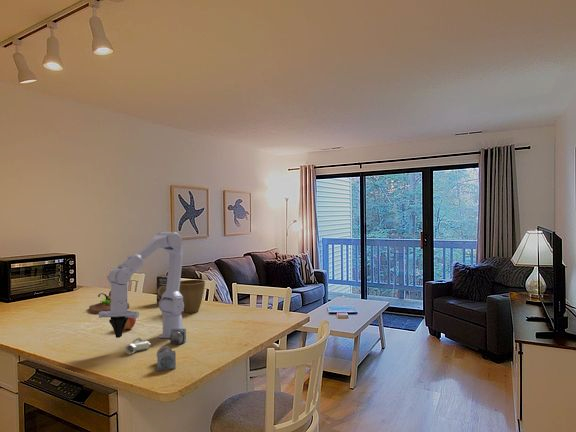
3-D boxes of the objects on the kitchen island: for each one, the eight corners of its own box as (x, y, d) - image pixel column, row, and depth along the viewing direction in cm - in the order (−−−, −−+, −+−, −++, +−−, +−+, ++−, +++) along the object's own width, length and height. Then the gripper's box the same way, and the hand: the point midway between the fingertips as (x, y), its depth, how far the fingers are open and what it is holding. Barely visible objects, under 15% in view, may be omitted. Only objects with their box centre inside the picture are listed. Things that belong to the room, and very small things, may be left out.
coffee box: (156, 304, 217) (156, 276, 217) (162, 302, 223) (162, 275, 223) (169, 305, 214) (169, 277, 214) (176, 303, 220) (176, 275, 220)
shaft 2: (172, 341, 150) (172, 328, 150) (186, 341, 150) (186, 328, 150) (168, 344, 146) (168, 331, 146) (182, 345, 146) (182, 331, 146)
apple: (116, 332, 163) (116, 314, 163) (119, 327, 170) (119, 310, 170) (134, 331, 165) (134, 312, 165) (136, 326, 172) (136, 309, 172)
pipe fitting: (151, 348, 144) (134, 347, 144) (152, 338, 144) (134, 337, 144) (142, 356, 136) (124, 354, 136) (143, 345, 136) (125, 344, 136)
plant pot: (203, 307, 209) (203, 278, 209) (206, 313, 195) (206, 283, 195) (175, 309, 204) (175, 280, 205) (176, 316, 190) (176, 284, 190)
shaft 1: (156, 362, 128) (156, 347, 128) (173, 360, 130) (173, 345, 131) (157, 371, 121) (157, 355, 121) (175, 368, 123) (175, 352, 123)
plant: (132, 311, 203) (132, 290, 203) (92, 316, 192) (92, 294, 192) (125, 304, 219) (125, 285, 219) (88, 308, 208) (88, 288, 209)
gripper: (94, 302, 136) (93, 340, 136) (133, 302, 135) (133, 340, 135) (104, 298, 143) (104, 334, 143) (141, 298, 142) (141, 334, 142)
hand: (118, 336), depth 140 cm, fingers closed
